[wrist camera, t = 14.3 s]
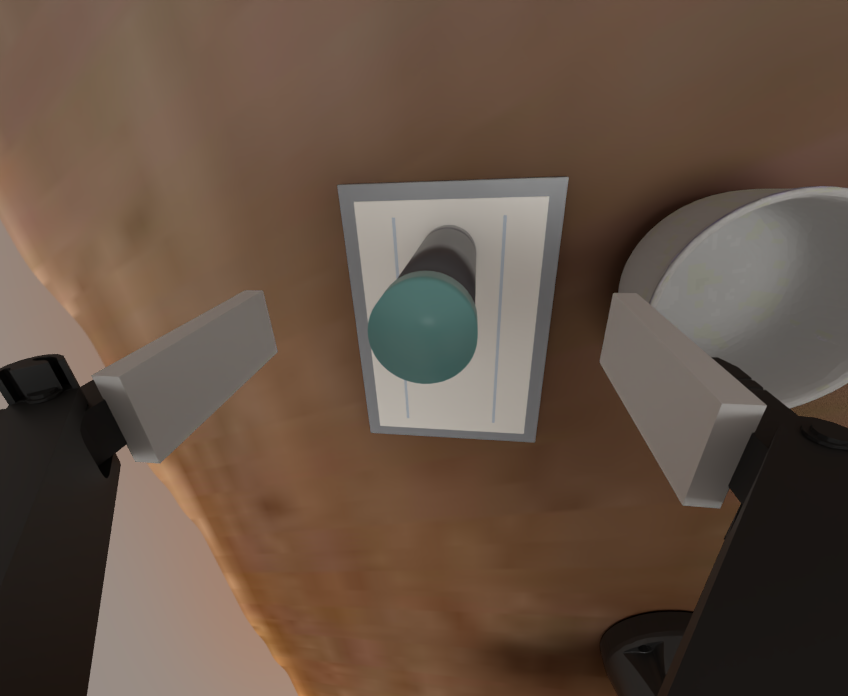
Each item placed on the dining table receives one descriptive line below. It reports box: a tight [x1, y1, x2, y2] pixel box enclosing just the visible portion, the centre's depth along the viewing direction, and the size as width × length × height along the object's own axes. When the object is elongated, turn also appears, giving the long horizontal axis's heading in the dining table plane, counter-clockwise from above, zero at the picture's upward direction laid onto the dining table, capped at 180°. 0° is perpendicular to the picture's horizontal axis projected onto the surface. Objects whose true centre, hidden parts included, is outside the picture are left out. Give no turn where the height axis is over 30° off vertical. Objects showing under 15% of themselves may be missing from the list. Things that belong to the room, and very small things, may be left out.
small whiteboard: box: [337, 176, 569, 442], centre depth 27 cm, size 20×14×1 cm
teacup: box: [618, 186, 848, 408], centre depth 20 cm, size 14×11×8 cm
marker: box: [368, 225, 478, 384], centre depth 19 cm, size 4×4×13 cm
